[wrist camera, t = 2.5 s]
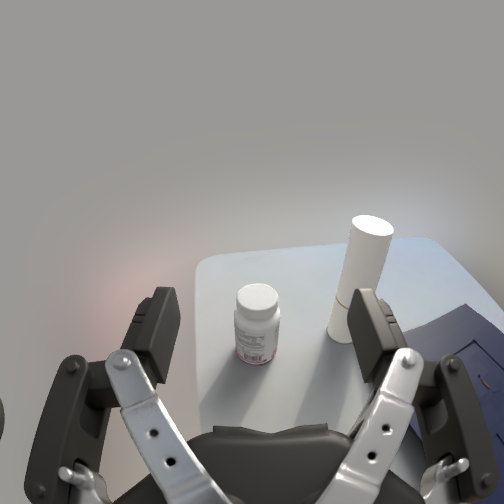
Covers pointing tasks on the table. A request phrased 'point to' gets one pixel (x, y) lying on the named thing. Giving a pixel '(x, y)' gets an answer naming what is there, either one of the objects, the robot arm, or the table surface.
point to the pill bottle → (256, 323)
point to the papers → (470, 369)
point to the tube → (359, 269)
